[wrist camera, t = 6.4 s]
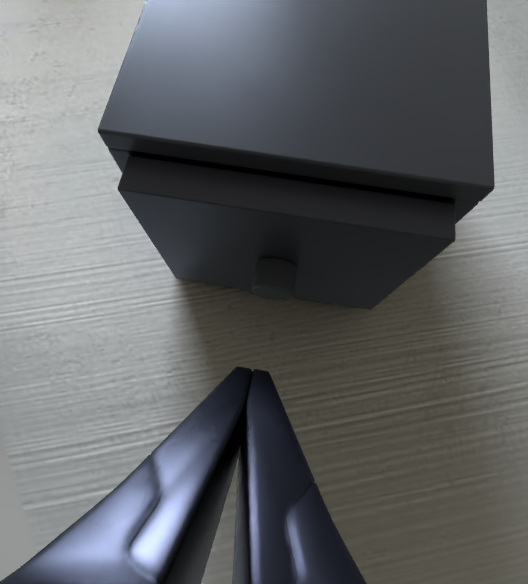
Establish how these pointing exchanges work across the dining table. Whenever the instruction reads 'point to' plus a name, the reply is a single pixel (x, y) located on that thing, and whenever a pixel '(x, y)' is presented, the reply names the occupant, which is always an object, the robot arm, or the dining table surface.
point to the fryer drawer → (284, 230)
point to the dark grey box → (314, 91)
